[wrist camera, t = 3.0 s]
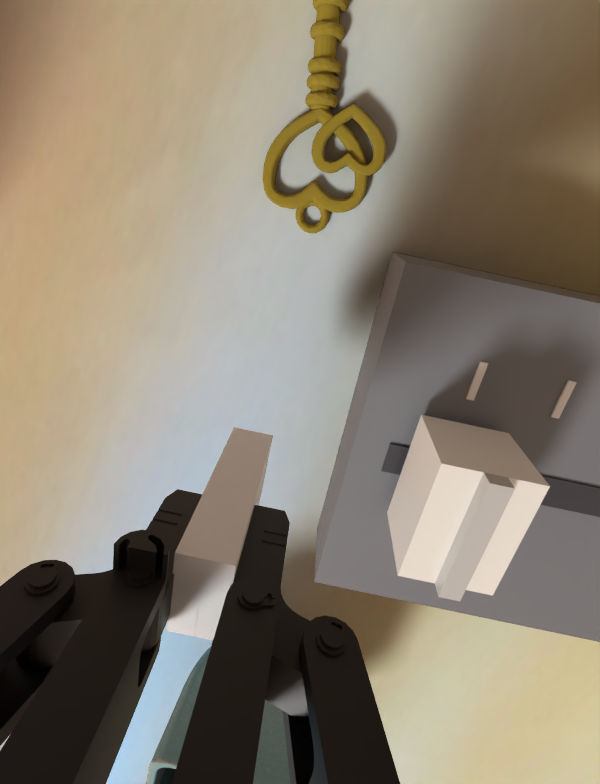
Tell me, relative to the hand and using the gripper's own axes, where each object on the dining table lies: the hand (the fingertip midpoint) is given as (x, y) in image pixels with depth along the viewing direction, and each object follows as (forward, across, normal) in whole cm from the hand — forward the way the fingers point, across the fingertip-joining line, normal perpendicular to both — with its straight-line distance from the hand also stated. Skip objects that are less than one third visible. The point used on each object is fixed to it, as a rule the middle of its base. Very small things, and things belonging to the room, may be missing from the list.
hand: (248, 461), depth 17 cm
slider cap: (+2, +8, 0) cm, 8 cm away
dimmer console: (+6, +15, 0) cm, 16 cm away
